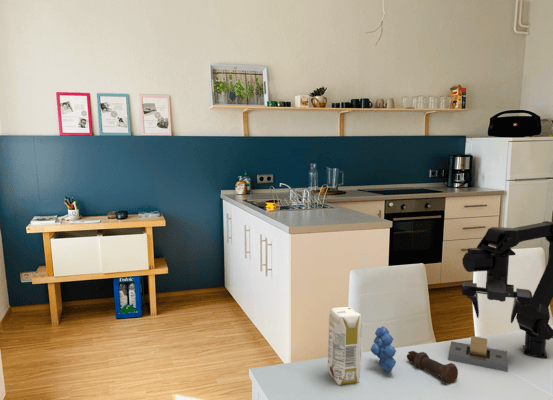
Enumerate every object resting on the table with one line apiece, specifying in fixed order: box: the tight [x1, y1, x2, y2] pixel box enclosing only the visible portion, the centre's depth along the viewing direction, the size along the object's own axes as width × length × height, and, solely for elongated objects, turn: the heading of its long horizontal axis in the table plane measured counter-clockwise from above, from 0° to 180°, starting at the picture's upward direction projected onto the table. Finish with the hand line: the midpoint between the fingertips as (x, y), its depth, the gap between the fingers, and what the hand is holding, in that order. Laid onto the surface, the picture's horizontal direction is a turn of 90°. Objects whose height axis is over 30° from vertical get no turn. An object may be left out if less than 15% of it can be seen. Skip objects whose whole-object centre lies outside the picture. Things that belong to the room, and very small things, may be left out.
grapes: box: [370, 325, 397, 374], centre depth 128 cm, size 12×7×12 cm, turn 9°
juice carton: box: [327, 306, 363, 386], centre depth 122 cm, size 8×9×19 cm
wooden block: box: [469, 335, 488, 358], centre depth 136 cm, size 4×4×6 cm
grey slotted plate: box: [447, 340, 509, 372], centre depth 136 cm, size 10×16×2 cm, turn 64°
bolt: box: [406, 350, 459, 385], centre depth 128 cm, size 6×5×15 cm
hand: (494, 320), depth 136 cm, fingers open, 9 cm apart
